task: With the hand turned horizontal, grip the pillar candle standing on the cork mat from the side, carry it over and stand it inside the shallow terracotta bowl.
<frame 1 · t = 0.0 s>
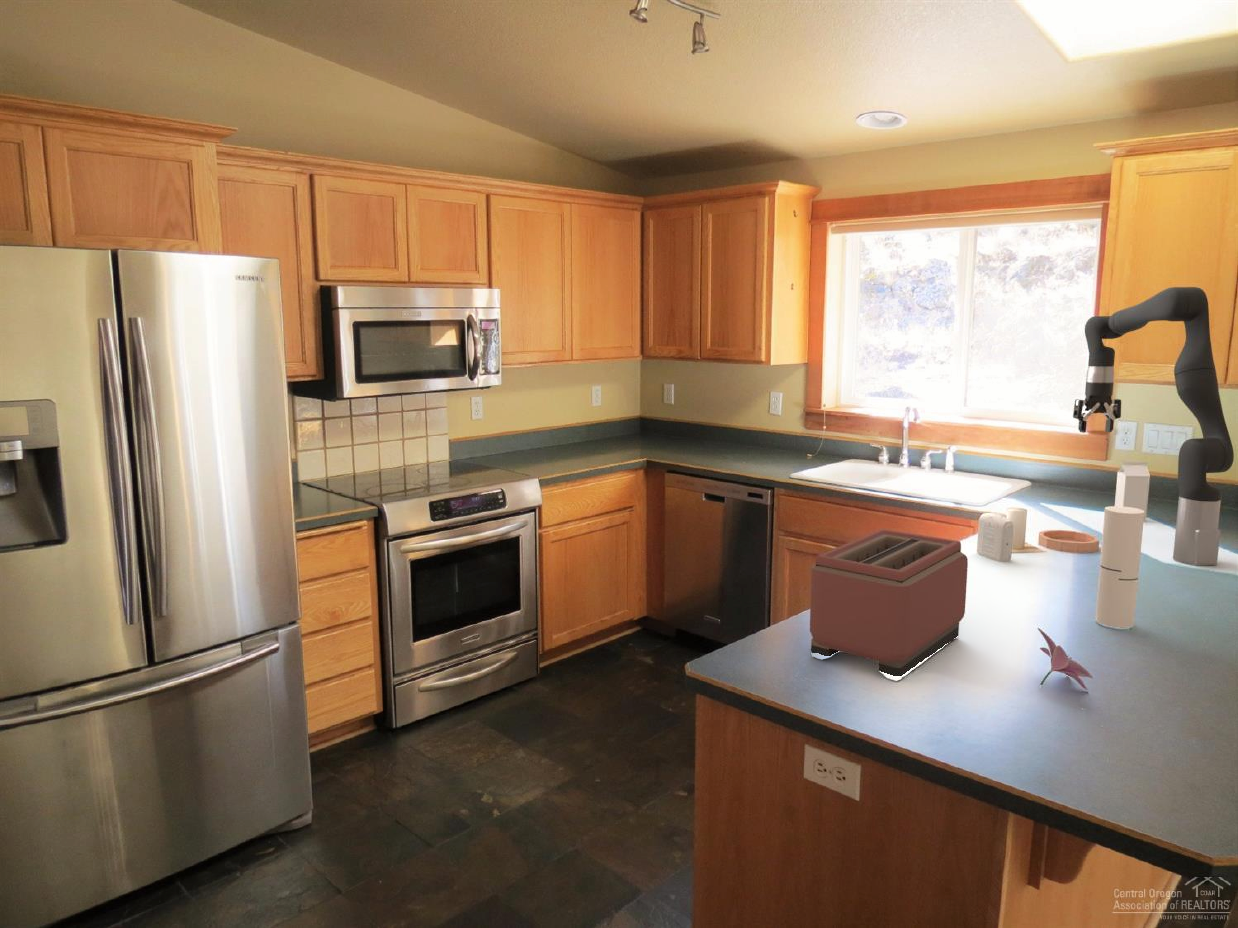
hand: (1095, 432, 266), 29 cm above the worktop, tool pointing down, fingers open, 8 cm apart
pillar candle: (1014, 547, 241), resting on cork mat
cork mat: (1014, 548, 241), on the worktop
toaster: (891, 645, 170), on the worktop
cylindrical container: (1114, 624, 180), on the worktop
milk carton: (1129, 519, 275), on the worktop
photo printer: (993, 558, 232), on the worktop
bowl: (1067, 546, 243), on the worktop
lily: (1060, 688, 150), on the worktop
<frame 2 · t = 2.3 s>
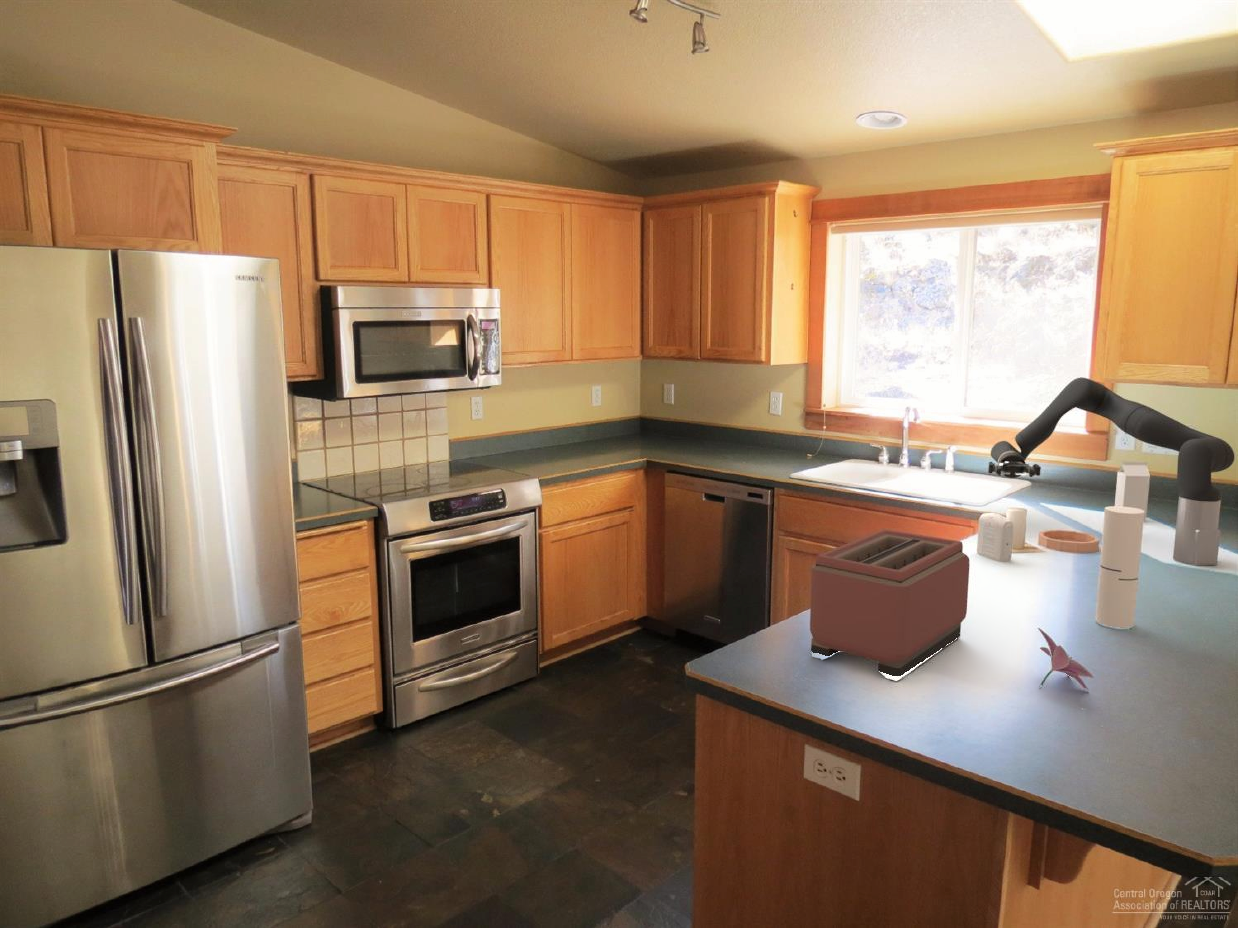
hand: (1015, 472, 248), 20 cm above the worktop, tool horizontal, fingers open, 8 cm apart
nothing on the worktop moved.
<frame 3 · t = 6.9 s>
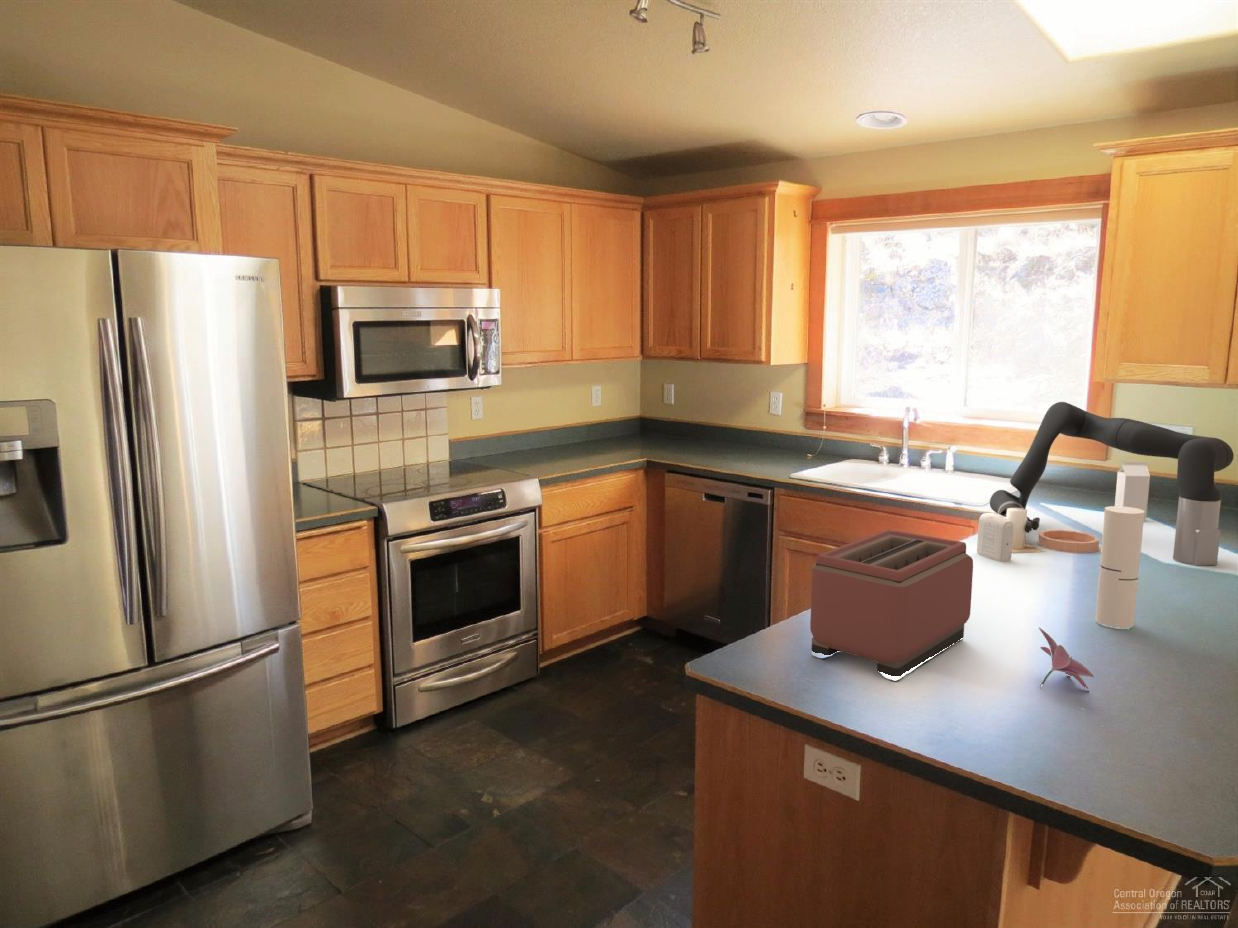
hand: (1016, 528, 238), 7 cm above the worktop, tool horizontal, fingers closed on pillar candle, 5 cm apart
pillar candle: (1014, 547, 241), resting on cork mat, touching gripper
everything else where it was.
when the fingers open (9 cm above the worktop, at t = 11.6 s): pillar candle drops 1 cm, resting on bowl.
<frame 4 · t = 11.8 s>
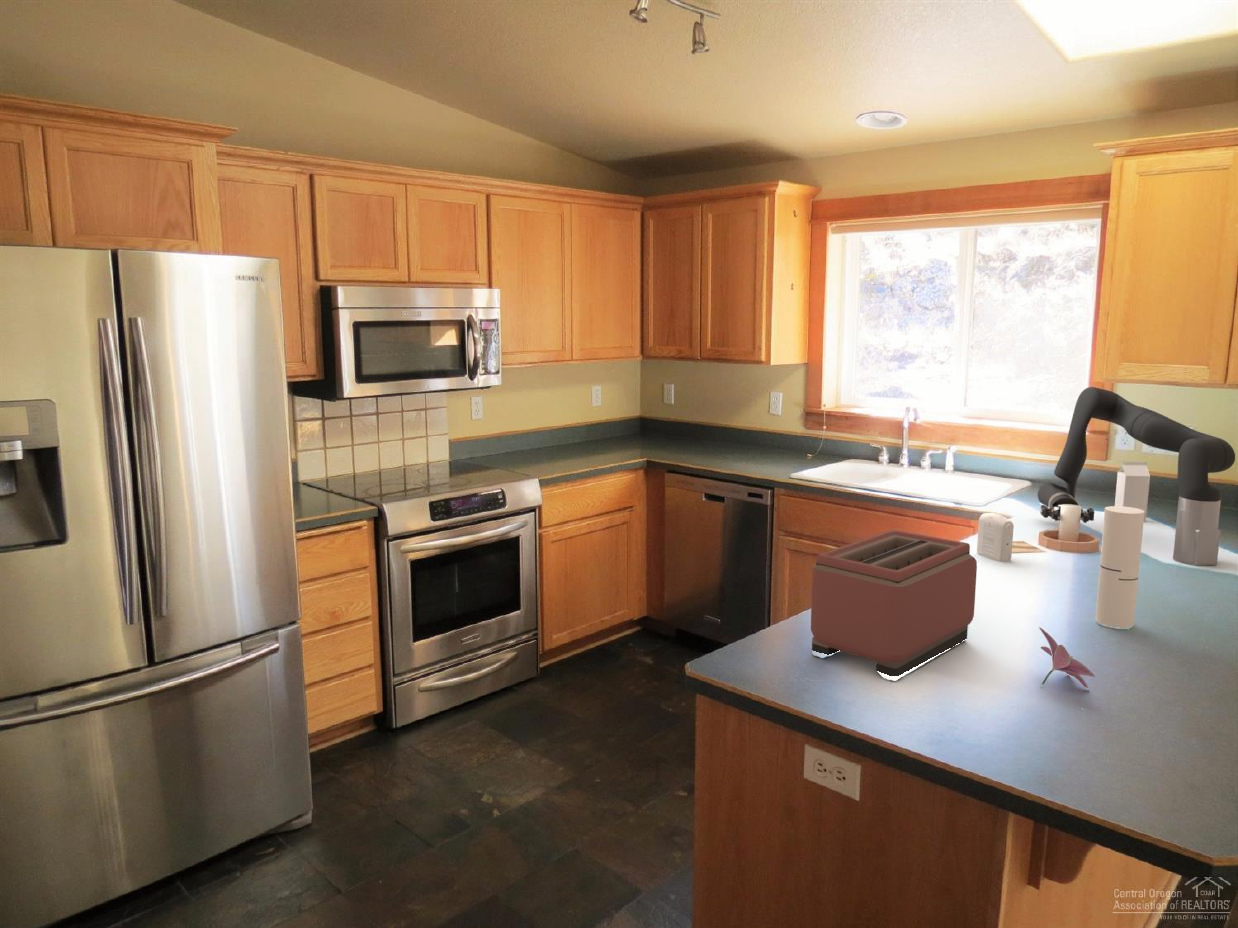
hand: (1071, 518, 239), 9 cm above the worktop, tool horizontal, fingers open, 6 cm apart
pillar candle: (1067, 543, 243), point 1 cm above the worktop, touching bowl
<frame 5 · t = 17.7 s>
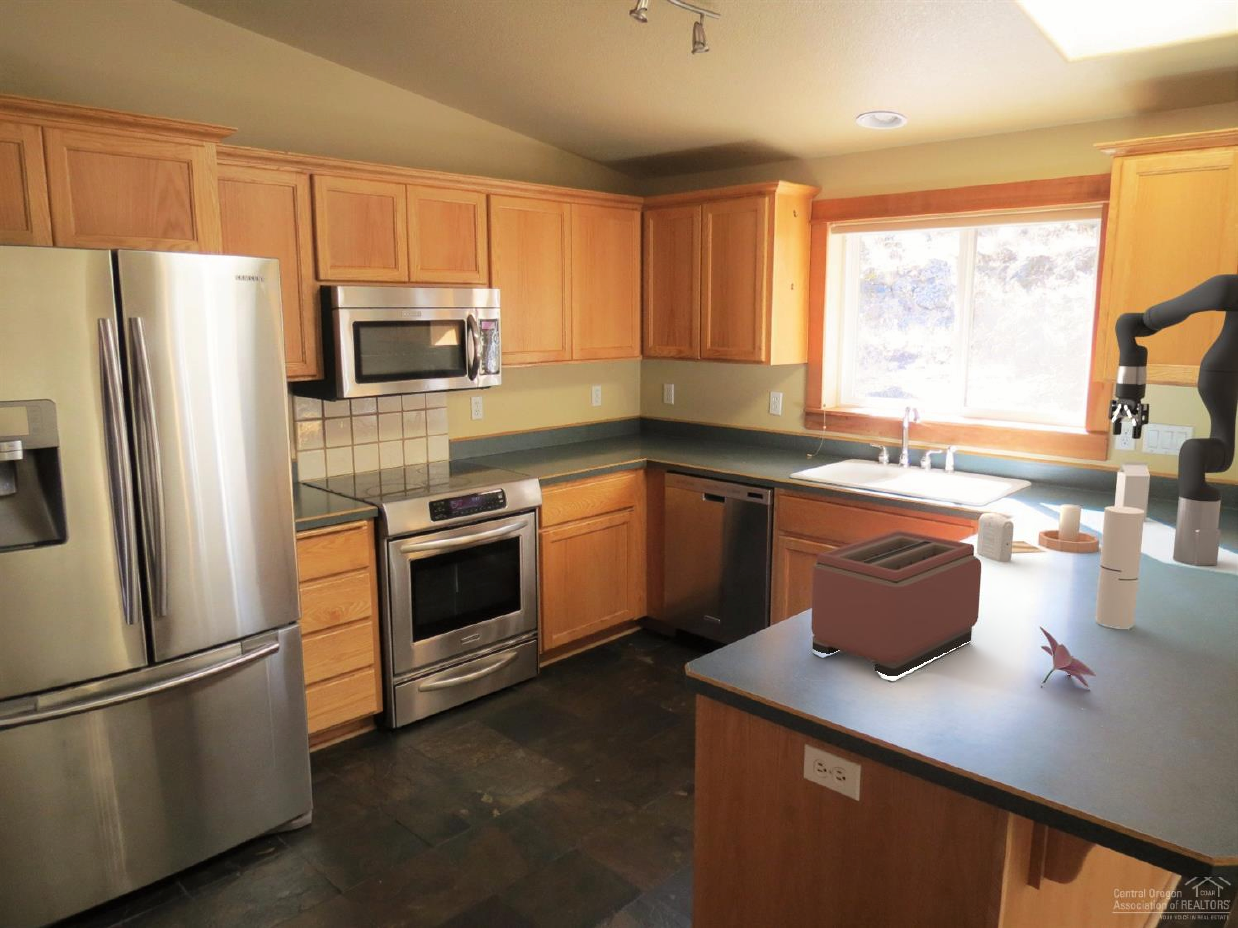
hand: (1126, 436, 249), 30 cm above the worktop, tool pointing down, fingers open, 8 cm apart
at the end: pillar candle 0.1 cm from the bowl (horizontally); pillar candle point 0.8 cm above the worktop; pillar candle tilted 0° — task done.
